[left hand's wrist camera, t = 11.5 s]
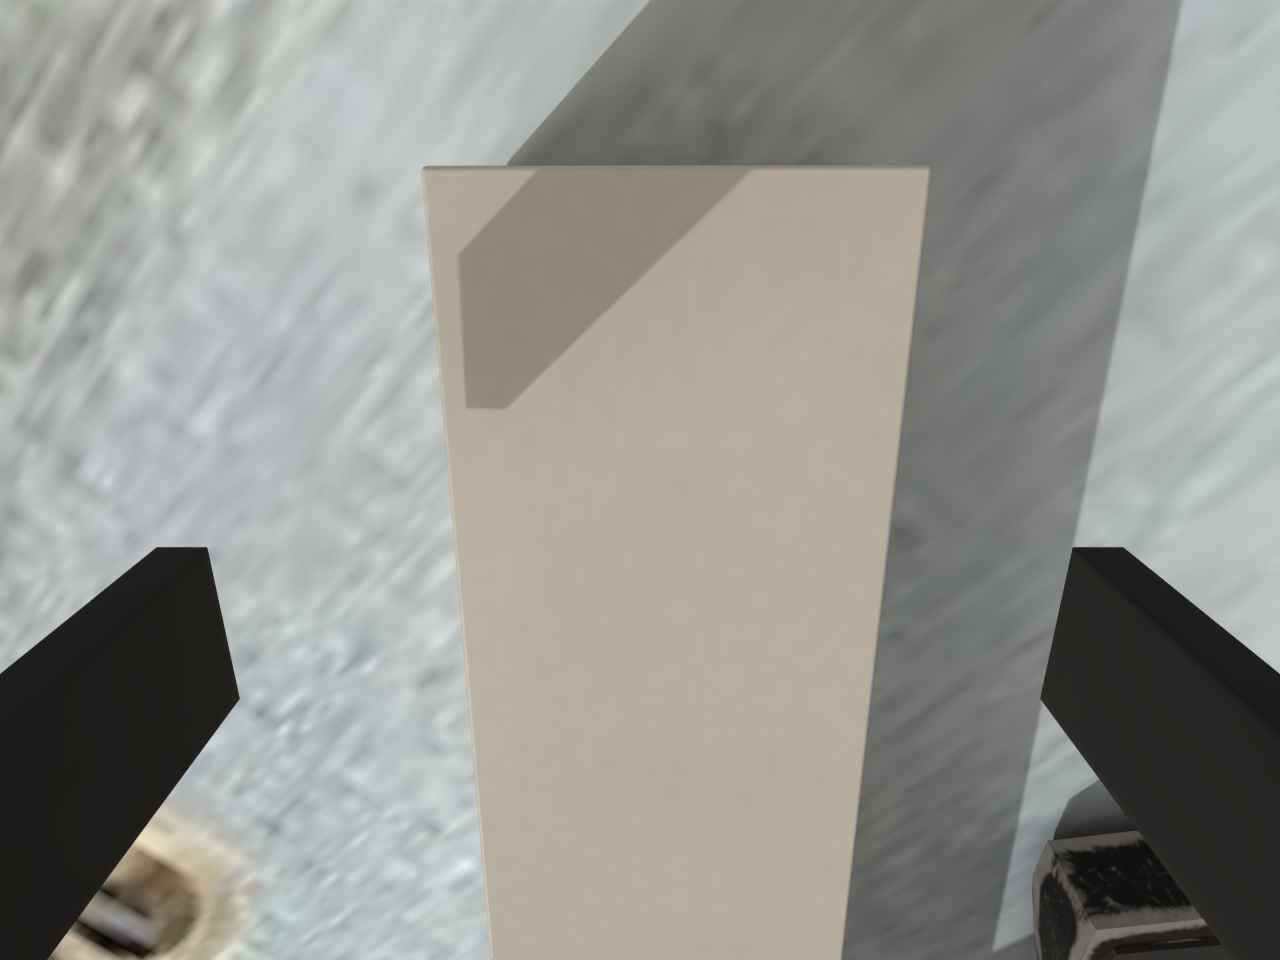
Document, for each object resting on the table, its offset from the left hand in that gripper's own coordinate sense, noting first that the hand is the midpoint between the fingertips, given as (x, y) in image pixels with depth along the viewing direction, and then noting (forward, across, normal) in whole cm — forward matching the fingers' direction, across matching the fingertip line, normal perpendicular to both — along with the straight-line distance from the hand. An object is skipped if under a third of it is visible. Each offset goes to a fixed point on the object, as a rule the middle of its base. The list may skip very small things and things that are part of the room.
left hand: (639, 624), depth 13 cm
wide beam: (+10, +1, -21) cm, 23 cm away
